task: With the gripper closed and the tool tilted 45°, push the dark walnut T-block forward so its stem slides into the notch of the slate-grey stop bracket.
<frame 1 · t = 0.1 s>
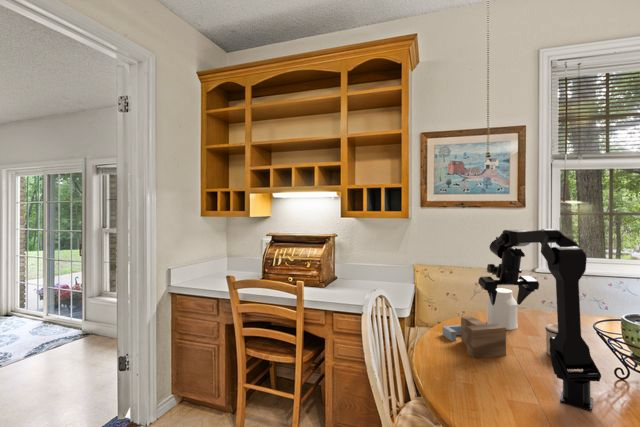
hand: (505, 304, 123), 15 cm above the table, tool pointing down, fingers open, 9 cm apart
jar: (502, 325, 145), on the table
teacup with lid: (563, 354, 116), on the table
tee block: (482, 352, 119), on the table
stop bracket: (459, 336, 133), on the table
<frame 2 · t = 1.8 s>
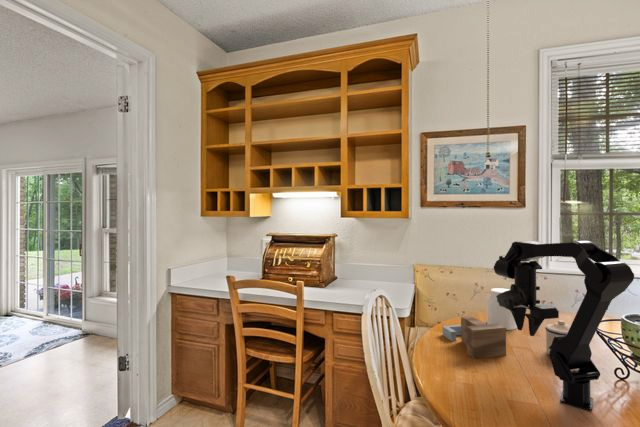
hand: (525, 332, 104), 12 cm above the table, tool pointing down, fingers open, 5 cm apart
nothing on the table moved.
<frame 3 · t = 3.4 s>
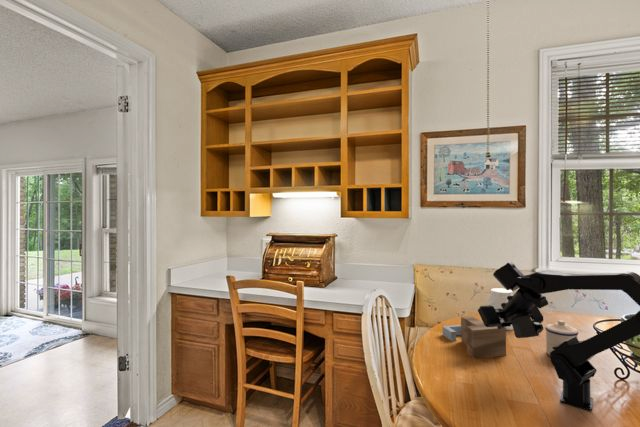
hand: (498, 327, 111), 11 cm above the table, tool tilted 45°, fingers closed
nothing on the table moved.
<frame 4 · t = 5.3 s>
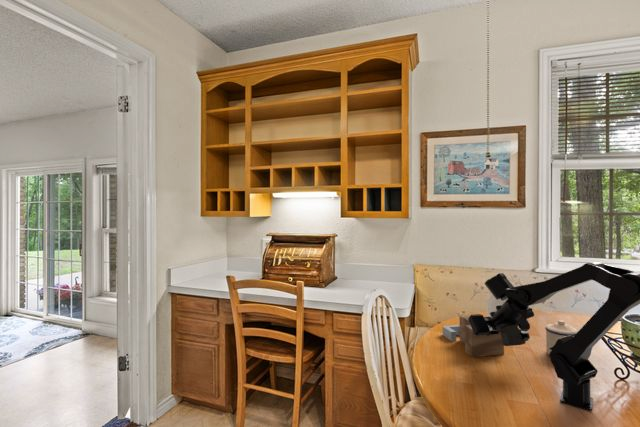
hand: (487, 334, 116), 7 cm above the table, tool tilted 45°, fingers closed, pressing on tee block
tee block: (480, 350, 120), on the table, touching gripper
everything else where it was.
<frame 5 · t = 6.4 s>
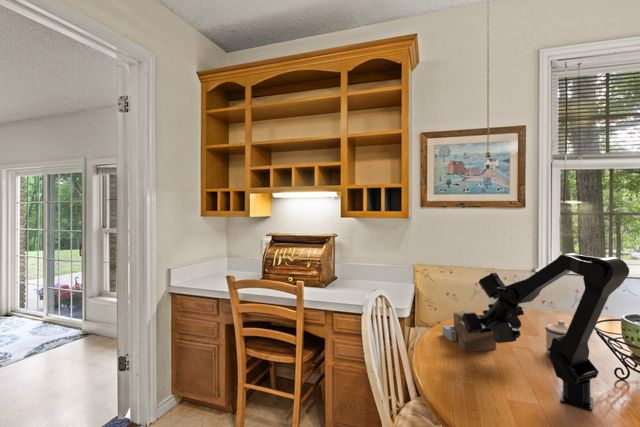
hand: (480, 332, 120), 7 cm above the table, tool tilted 45°, fingers closed, pressing on tee block
tee block: (473, 346, 124), on the table, touching gripper
everything else where it was.
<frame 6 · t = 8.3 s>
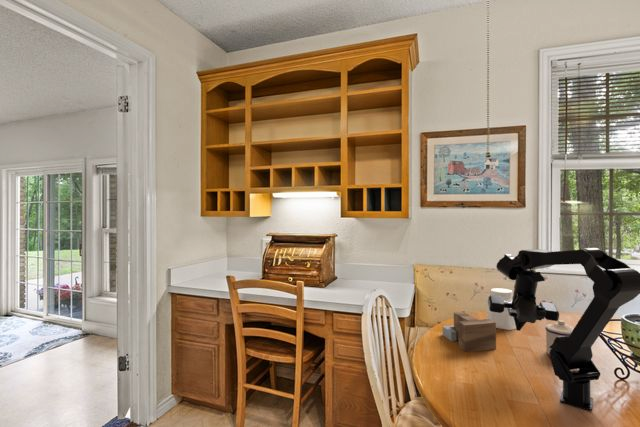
hand: (517, 329, 110), 11 cm above the table, tool tilted 20°, fingers closed
tee block: (473, 346, 124), on the table
everything else where it was.
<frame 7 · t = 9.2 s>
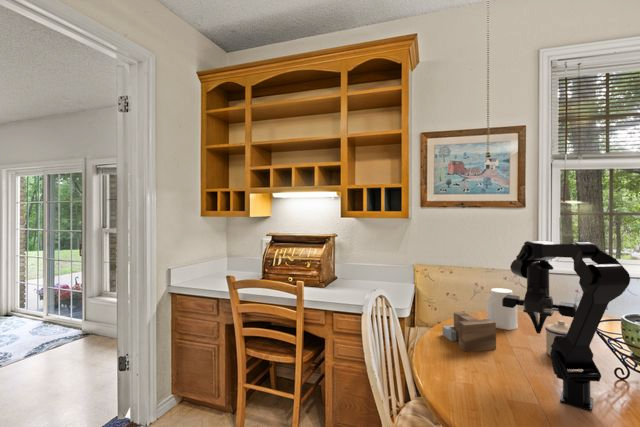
hand: (538, 333, 104), 12 cm above the table, tool pointing down, fingers closed
nothing on the table moved.
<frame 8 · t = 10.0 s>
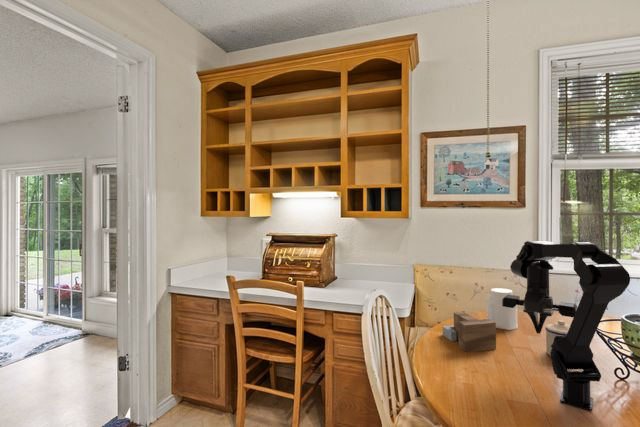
hand: (538, 333, 104), 12 cm above the table, tool pointing down, fingers closed
nothing on the table moved.
at the end: tee block inside the target area on the table beside the stop bracket (0.5 cm from its centre), on the table; tee block tilted 0°; tee block moved 5.3 cm from its start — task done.
